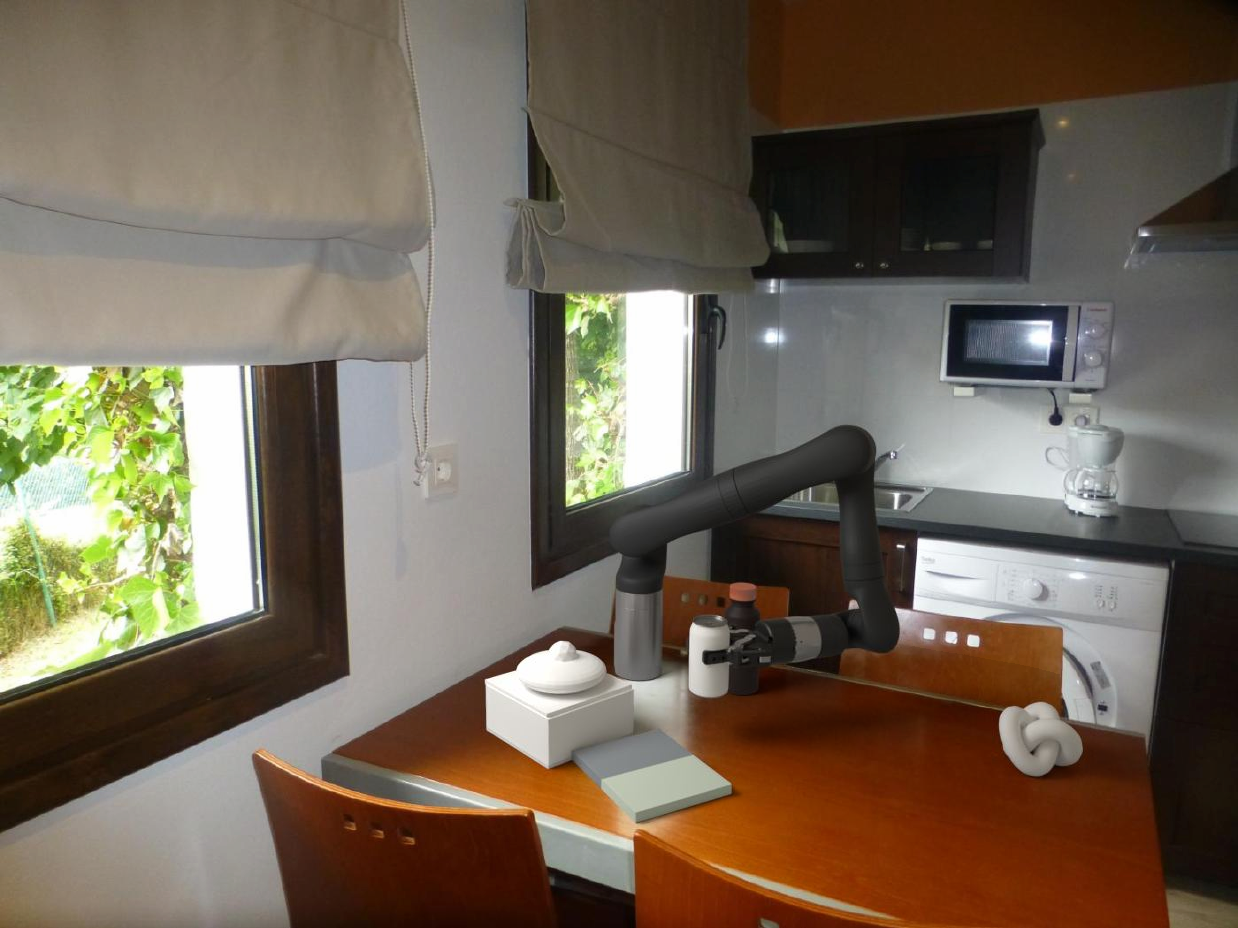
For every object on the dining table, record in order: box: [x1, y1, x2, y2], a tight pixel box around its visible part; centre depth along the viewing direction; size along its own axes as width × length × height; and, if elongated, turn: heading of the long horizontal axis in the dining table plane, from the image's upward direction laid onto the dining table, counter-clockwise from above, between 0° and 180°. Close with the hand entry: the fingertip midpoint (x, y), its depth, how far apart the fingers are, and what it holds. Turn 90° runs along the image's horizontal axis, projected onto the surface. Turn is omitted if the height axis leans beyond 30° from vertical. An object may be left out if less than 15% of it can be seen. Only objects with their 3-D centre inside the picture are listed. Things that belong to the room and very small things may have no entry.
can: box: [688, 614, 730, 699], centre depth 138 cm, size 6×6×12 cm
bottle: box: [723, 582, 762, 696], centre depth 159 cm, size 7×7×20 cm
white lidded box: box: [484, 640, 635, 770], centre depth 141 cm, size 18×18×16 cm
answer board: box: [571, 728, 733, 824], centre depth 127 cm, size 20×16×2 cm
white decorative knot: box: [998, 701, 1084, 777], centre depth 131 cm, size 11×12×9 cm
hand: (695, 650), depth 137 cm, fingers closed on can, 6 cm apart
